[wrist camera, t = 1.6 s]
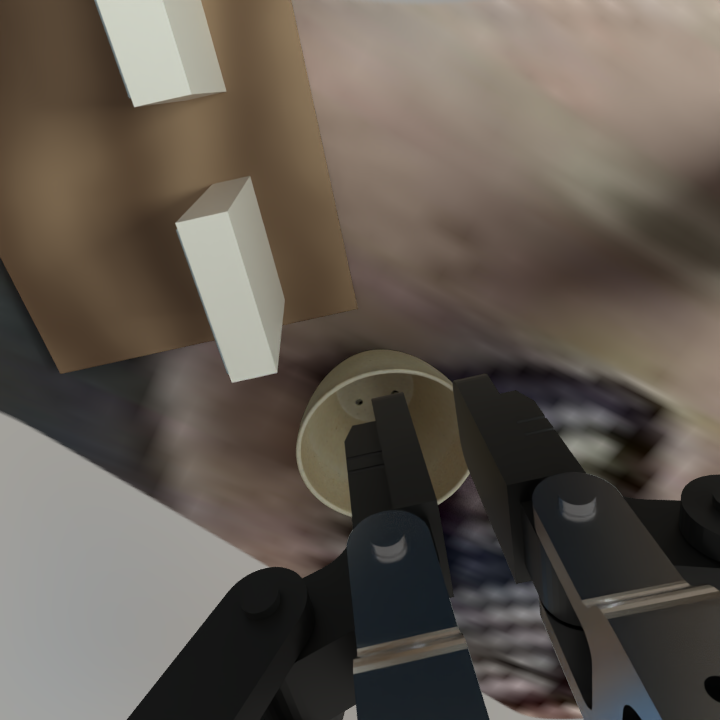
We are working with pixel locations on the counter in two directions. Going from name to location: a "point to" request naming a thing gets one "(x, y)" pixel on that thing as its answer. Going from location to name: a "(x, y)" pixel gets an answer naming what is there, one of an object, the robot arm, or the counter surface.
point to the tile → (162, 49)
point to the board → (153, 178)
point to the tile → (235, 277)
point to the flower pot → (342, 410)
